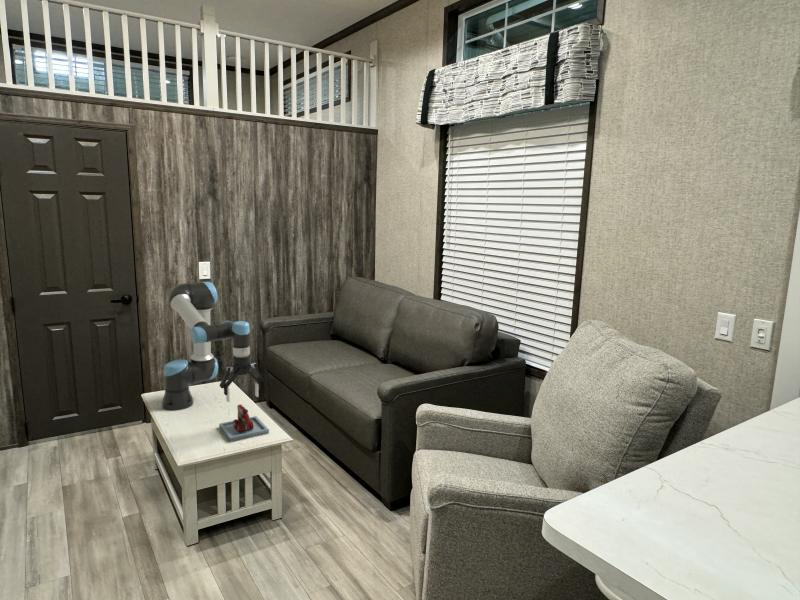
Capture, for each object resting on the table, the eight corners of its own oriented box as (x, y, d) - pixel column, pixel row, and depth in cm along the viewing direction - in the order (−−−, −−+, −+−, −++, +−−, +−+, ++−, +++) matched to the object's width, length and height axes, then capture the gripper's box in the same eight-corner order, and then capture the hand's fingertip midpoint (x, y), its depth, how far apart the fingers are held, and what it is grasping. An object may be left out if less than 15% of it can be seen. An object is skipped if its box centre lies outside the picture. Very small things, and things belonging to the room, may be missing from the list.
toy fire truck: (240, 435, 246) (240, 413, 244) (232, 425, 256) (231, 405, 254) (255, 431, 250) (255, 410, 248) (246, 422, 260) (245, 402, 258)
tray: (219, 427, 255) (219, 423, 255) (256, 419, 265) (256, 416, 265) (230, 442, 241) (230, 437, 240) (268, 433, 251) (268, 429, 250)
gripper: (216, 361, 236) (217, 406, 240) (270, 353, 250) (271, 396, 254) (211, 356, 242) (213, 400, 247) (265, 349, 256) (265, 391, 260)
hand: (242, 398), depth 250 cm, fingers open, 13 cm apart
